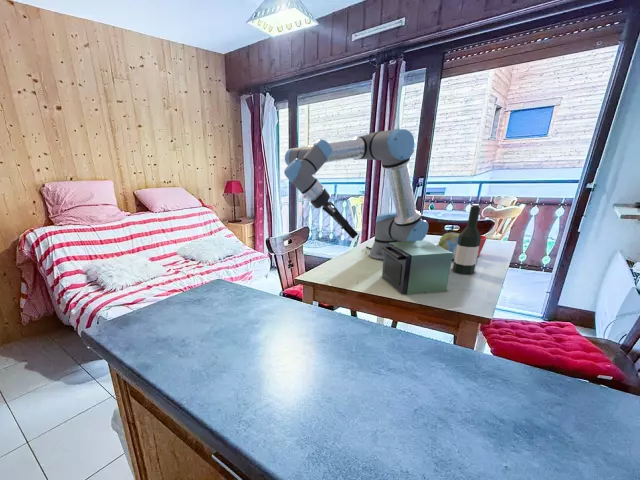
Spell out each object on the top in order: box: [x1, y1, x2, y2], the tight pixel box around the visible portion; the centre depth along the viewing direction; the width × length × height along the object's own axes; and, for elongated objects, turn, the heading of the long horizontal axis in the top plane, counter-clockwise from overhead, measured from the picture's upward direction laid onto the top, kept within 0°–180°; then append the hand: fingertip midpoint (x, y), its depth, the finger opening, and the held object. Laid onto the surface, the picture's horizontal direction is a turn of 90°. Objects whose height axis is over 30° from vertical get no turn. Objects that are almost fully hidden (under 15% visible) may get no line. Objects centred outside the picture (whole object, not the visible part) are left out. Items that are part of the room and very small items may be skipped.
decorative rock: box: [436, 232, 460, 260], centre depth 165 cm, size 14×16×15 cm
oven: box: [389, 239, 453, 295], centre depth 136 cm, size 16×20×16 cm
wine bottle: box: [452, 203, 482, 275], centre depth 143 cm, size 8×8×30 cm
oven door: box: [381, 243, 410, 295], centre depth 136 cm, size 4×20×16 cm, turn 3°
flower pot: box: [477, 234, 487, 257], centre depth 169 cm, size 11×11×10 cm
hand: (355, 236), depth 132 cm, fingers closed
